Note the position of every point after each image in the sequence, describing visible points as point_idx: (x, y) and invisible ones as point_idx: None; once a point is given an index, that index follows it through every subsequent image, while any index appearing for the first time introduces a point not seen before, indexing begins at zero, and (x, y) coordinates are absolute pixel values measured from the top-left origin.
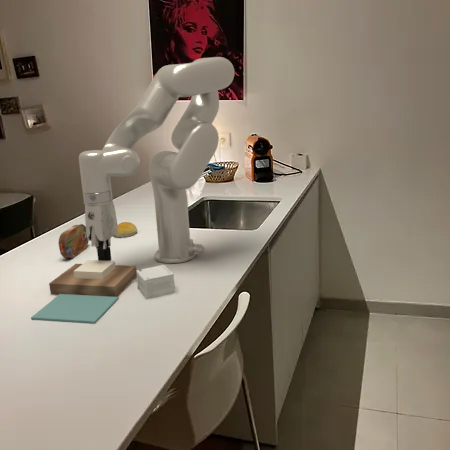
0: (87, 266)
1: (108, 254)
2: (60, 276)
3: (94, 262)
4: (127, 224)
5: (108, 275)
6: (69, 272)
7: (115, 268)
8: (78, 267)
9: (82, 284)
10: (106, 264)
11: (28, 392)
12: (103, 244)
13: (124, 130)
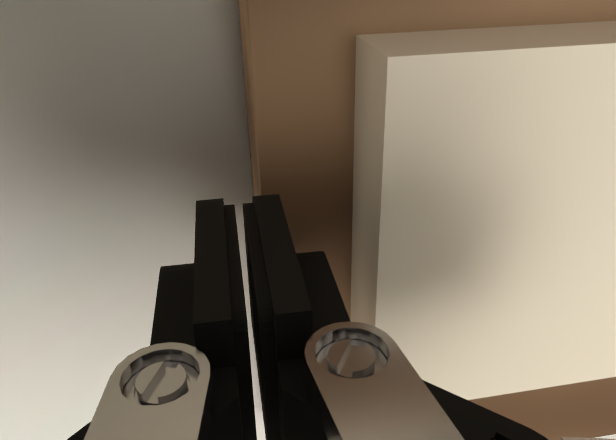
0: (575, 312)
1: (280, 249)
2: (572, 430)
3: (447, 310)
4: None
5: (611, 5)
6: None
7: (375, 28)
8: (592, 377)
9: None
10: (529, 120)
11: None
12: (436, 422)
13: None
